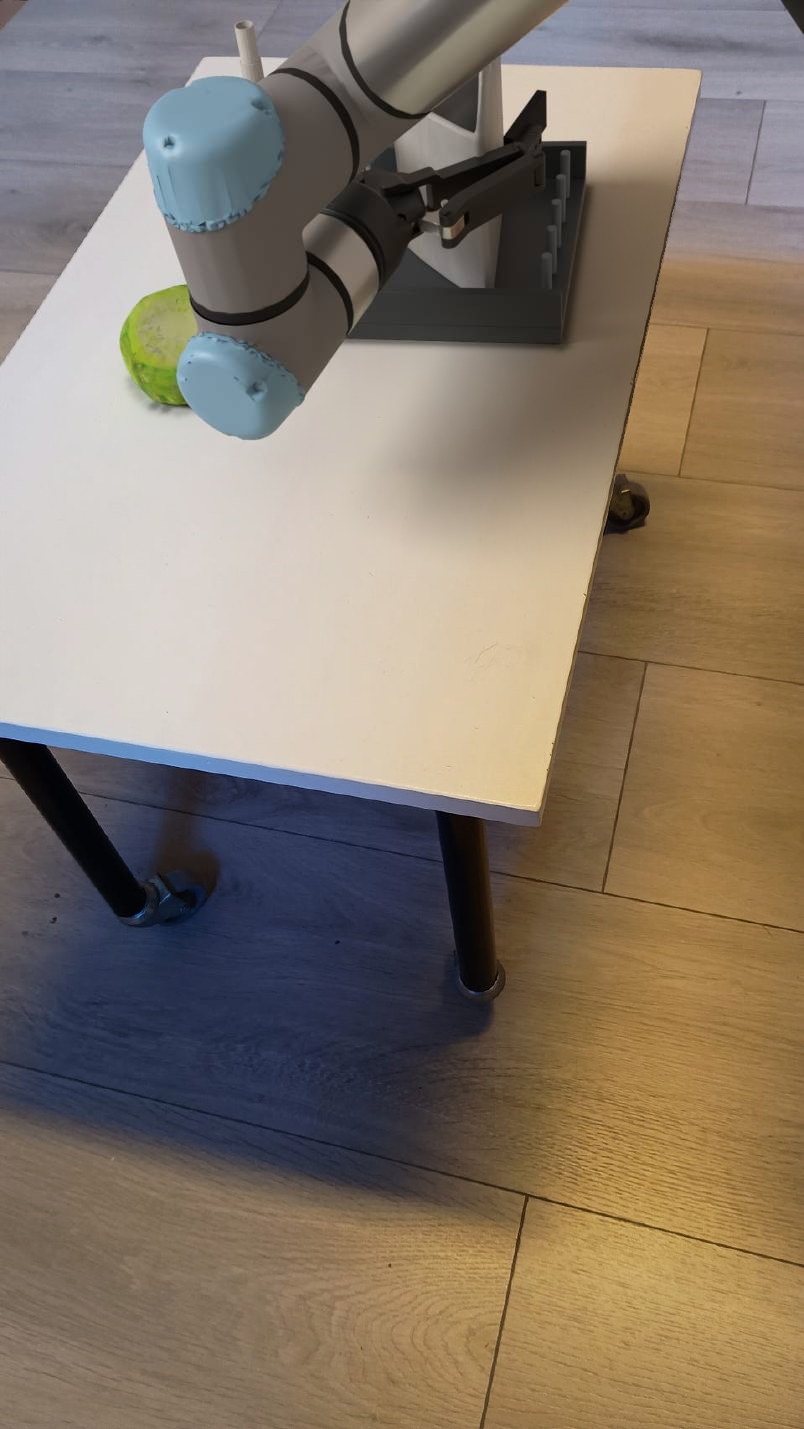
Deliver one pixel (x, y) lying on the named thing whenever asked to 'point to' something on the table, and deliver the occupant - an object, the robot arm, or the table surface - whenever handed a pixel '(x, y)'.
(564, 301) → the dish rack
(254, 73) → the electronic device
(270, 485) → the table surface
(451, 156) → the planter
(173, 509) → the table surface
